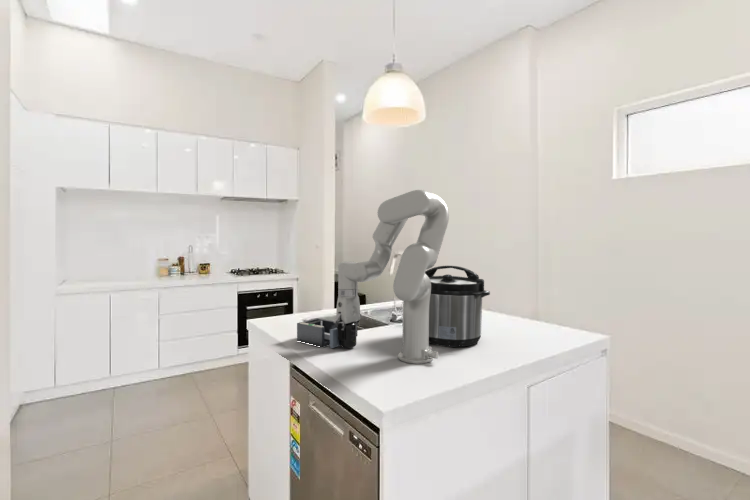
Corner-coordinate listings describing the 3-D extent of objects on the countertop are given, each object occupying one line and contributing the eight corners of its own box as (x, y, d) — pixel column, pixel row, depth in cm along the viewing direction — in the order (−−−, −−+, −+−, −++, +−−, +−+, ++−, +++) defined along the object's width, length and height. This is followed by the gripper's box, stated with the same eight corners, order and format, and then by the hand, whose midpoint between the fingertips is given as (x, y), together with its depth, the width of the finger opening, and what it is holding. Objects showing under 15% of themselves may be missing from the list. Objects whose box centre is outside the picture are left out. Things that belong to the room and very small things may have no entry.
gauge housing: (341, 341, 163) (341, 321, 163) (322, 347, 154) (321, 326, 153) (317, 336, 171) (317, 317, 171) (297, 342, 162) (297, 322, 161)
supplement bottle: (335, 346, 152) (335, 316, 152) (345, 342, 158) (345, 313, 158) (350, 348, 149) (350, 317, 149) (359, 344, 155) (359, 314, 155)
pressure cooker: (499, 341, 164) (500, 266, 162) (456, 354, 146) (457, 270, 144) (444, 328, 187) (445, 262, 186) (401, 337, 169) (401, 265, 168)
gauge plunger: (349, 342, 160) (349, 321, 159) (329, 349, 150) (329, 326, 150) (325, 337, 167) (325, 317, 167) (305, 343, 157) (305, 322, 157)
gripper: (340, 296, 144) (341, 344, 144) (368, 291, 158) (368, 334, 159) (325, 294, 148) (325, 341, 149) (354, 289, 162) (354, 332, 163)
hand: (347, 337), depth 154 cm, fingers closed on supplement bottle, 6 cm apart
